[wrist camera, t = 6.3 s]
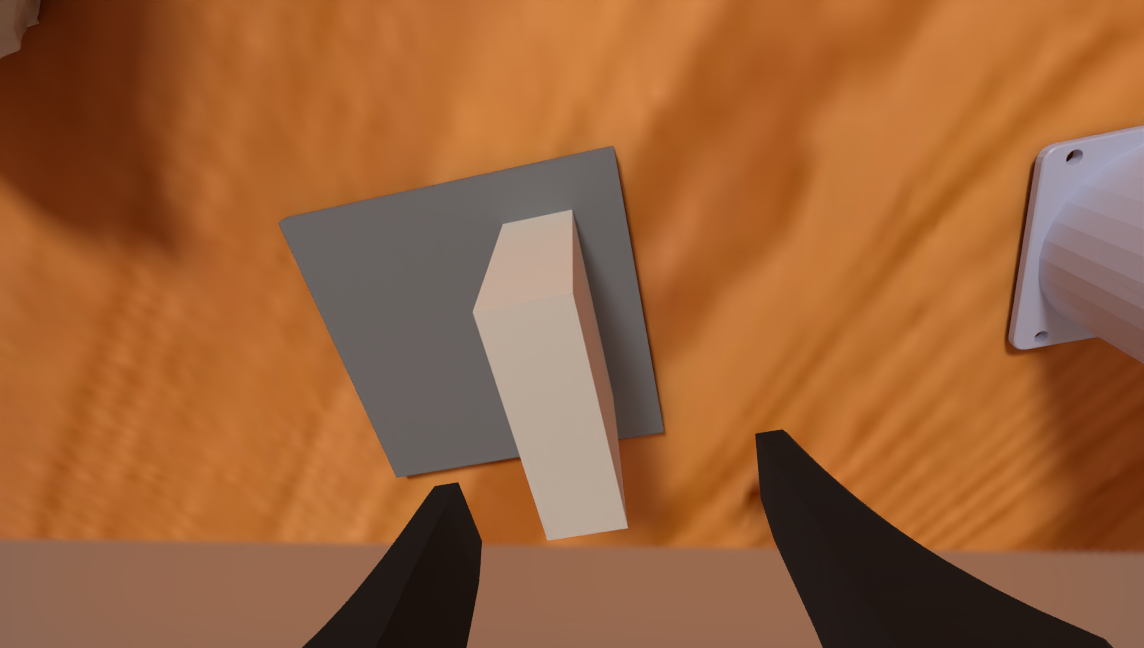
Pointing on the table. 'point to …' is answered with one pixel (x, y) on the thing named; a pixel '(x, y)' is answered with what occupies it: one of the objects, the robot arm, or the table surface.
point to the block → (553, 374)
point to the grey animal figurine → (16, 23)
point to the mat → (464, 303)
